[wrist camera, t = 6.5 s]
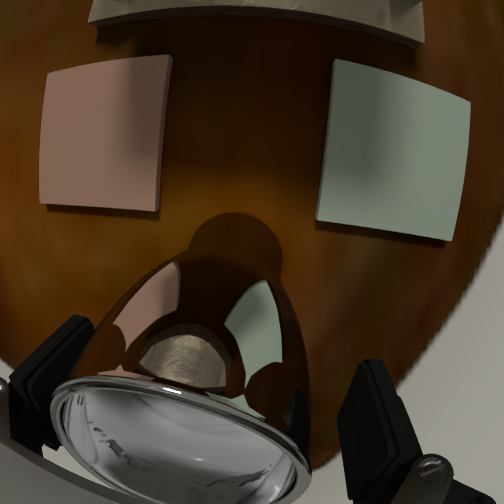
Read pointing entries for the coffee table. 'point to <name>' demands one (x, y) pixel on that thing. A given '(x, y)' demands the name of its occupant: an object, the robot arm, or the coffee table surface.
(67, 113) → the terracotta pad
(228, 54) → the coffee table surface
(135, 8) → the grey unit
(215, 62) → the coffee table surface
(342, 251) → the coffee table surface
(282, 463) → the chrome vase
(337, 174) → the sage pad
